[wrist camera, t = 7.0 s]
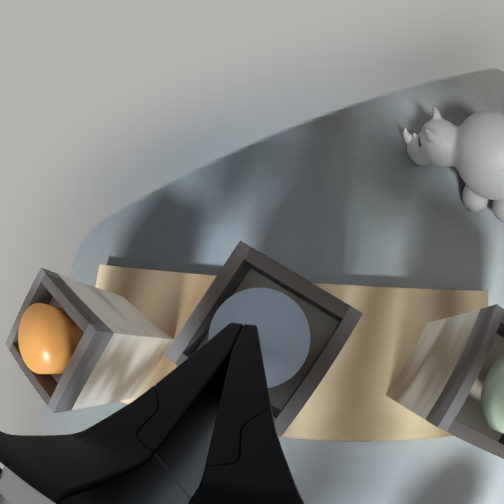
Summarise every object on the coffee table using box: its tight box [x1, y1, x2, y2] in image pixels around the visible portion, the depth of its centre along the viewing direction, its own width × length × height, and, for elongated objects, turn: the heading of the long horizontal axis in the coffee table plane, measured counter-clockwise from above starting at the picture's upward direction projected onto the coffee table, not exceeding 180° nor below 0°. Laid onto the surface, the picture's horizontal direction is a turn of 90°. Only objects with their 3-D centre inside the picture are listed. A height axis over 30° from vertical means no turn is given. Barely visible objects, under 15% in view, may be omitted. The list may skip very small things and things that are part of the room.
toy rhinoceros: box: [403, 106, 504, 222], centre depth 20 cm, size 7×12×8 cm, turn 57°
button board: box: [6, 241, 504, 459], centre depth 17 cm, size 11×33×11 cm, turn 83°
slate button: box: [208, 288, 310, 388], centre depth 13 cm, size 4×4×2 cm
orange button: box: [18, 303, 83, 374], centre depth 14 cm, size 4×4×2 cm
